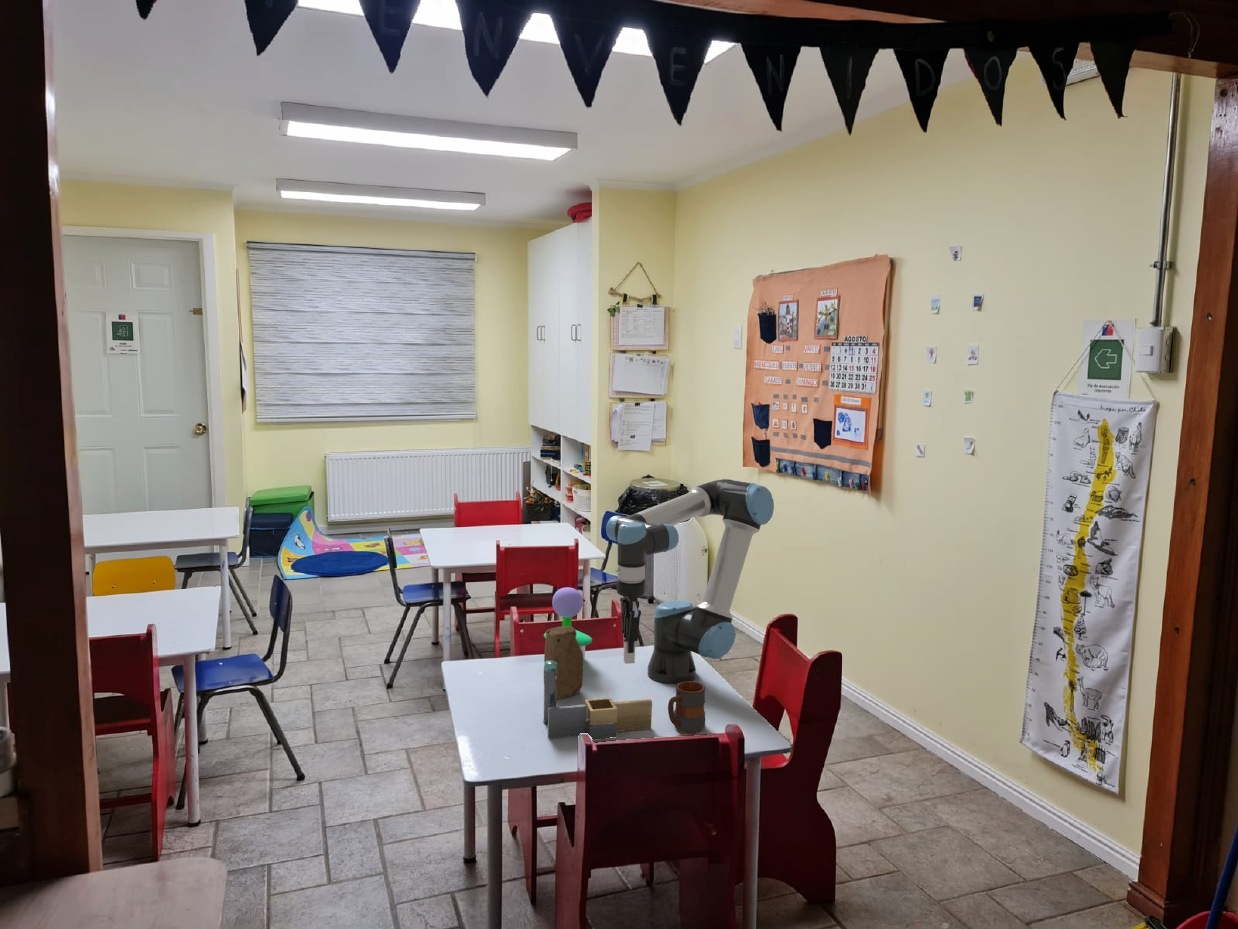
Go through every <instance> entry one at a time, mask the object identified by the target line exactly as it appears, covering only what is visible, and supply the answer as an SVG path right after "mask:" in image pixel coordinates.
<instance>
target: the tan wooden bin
mask: <svg viewBox="0 0 1238 929" xmlns="http://www.w3.org/2000/svg"><path fill="white" fill-rule="evenodd" d="M584 705H586V718H587V720H588V722H589V724H590V725H599V724H610V723H616V724H617V732H626V731H637V730H649V729H652V718H653V717H652V714H653V712H652V710H653V701H652V699H638V700H637V699H636V700H623V701H613V699H612V698H611V697H604V698H602V697H600V698H591V699H590V698H589V699H584Z"/></svg>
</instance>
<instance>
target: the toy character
mask: <svg viewBox="0 0 1238 929" xmlns="http://www.w3.org/2000/svg"><path fill="white" fill-rule="evenodd" d="M552 608H553V610H554V612H555V614H557V615H558V616H560V617H562V626H561V627H563V626H570V627H572V620H573V619H572V618H573V617H575V616H576V615H578V614H579V613H580V612H581V610H582V608H583V597H582V594H581V593H580V592H579V591H578V590H577V589H575V588H573V587H567V586H566V587H562V588H560V589H558V590H557V591H556V592H555V593H554V595H553V597H552ZM575 630H576V629H575ZM543 637H544V638H545V640H546V632H545V633H544V634H543ZM576 640H577V642H578V643H579V646H580V648H581V650H582V653H583V660H584V659H586V646H587V645H590V644H591V643H592V642H593V638H592V637H591V636H590V635H588V634H586V633H584V632H581V631H579V630H576Z"/></svg>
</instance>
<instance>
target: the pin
mask: <svg viewBox="0 0 1238 929" xmlns="http://www.w3.org/2000/svg"><path fill="white" fill-rule="evenodd" d="M543 664H544V666H543V724H545V725H547V726H548V707H557V699H558V698H557V662H556V661H553V660H549V661H545V662H543Z"/></svg>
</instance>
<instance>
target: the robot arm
mask: <svg viewBox="0 0 1238 929" xmlns="http://www.w3.org/2000/svg"><path fill="white" fill-rule="evenodd" d="M774 506H775V503H774V499H773V493H771V491H770V490H769V488H767V487H766V486H764V485H761V484H758V483H753V482H752V483H751V482H747V481H739V480H733V479H727V478H722V479H718V480H711V481H708V482H705V483H702V484H700V485H699V484H698V485H697V486H694V487H692V488H690V489H689V491H688V492H687V493H686V494H683V495H680V496H677V497H675V498H672V499H669V500H667V501H664V502H661V503H659V504H657V505H654V506H652V507H649V508H646V509H644V510H642V511H639V512H636V513H634V514H631V515H628V516H624V515H614V516H612V517H610V518H609V519H608V521H607V523H606V527H605V532H606V535H607V537H608V538H609V540H611V541H614V542H617V568H615V572H617V574H616V575H617V581H616V593H617V594H618V595H620V596H622V597H620V599H619V602H620V612H621V617H620V618H621V634H623V663H624V664H625V665H628V664H636V661H635V660H636V642H638V640H639V628H640V622H641V621H640V618H641V616H642V615H641V614H642V611H641V610H640V609H639V607H640V602H639V597H640V596H643V595H644V594H645V591H646V590H645V588H646V587H645V586H646V584H645V579H646V556H651V555H654V554H655V555H656V554H659V553H667V552H668V551H671V550H674V549H675V548H676V547H677V546H678V543H679V541H680V540H679V538H680V537H679V532H678V530H677V528H676V527H675V526H676V525H677V524H680V523H683V522H686V521H687V520H690V519H693V518H695V517H700V518H704V517H706V516H709V515H710V516H711V515H713V516H714V515H715V516H722V522H723V524H724V530H723V534H722V536H721V540H720V543H719V547H718V550H717V552H716V556H715V559H714V563H713V567H712V569H711V573H710V575H709V578H708V582H707V585H706V588H705V592H704V596H703V598H702V601H701V602H700V603H697V605H695V606H694V605H693V604H692V603H691V602H690V601H685V600H684V601H681V600H674V601H666V602H661V603H660V604H657V606H656V607H655V613H654V628H653V630H654V632H653V634H654V635H653V643H654V644H653V651H652V653H651V657H650V660H649V661H648V665H647V675H648V677H649V678H650V679H652V680H653V681H656V682H660V683H663V684H679V683H681V682H686V681H693V680H694V679H696V676H697V668H696V667H697V666H696V665H695V664H696V663H695V661H694V658H693V654H692V652H693V653H694V654H697V655H700V656H701V657H703V658H707V659H708V658H709V659H711V660H718V659H720V658H723V657H724V656H725V655H727V654H728V653H729V652H730V650H731V649H732V648H733V645H734V644H735V641H736V636H737V635H736V627H735V626H734V625H733V623H732V621H733V618H734V617H733V615H732V613H731V607H732V604H733V600H734V597H735V593H736V592H737V591H736V590H737V587H738V584H739V582H740V578H741V574H742V571H743V567H744V564H745V562H746V558H747V555H748V551H749V548H750V544H751V541H752V538H753V536H754V535H755V534H758V533H759V532H760V529H761V526H763V525H767V524H768V523H769V521H771V519H772V517H773V515H774V509H775V507H774ZM694 607H695V608H694Z"/></svg>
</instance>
